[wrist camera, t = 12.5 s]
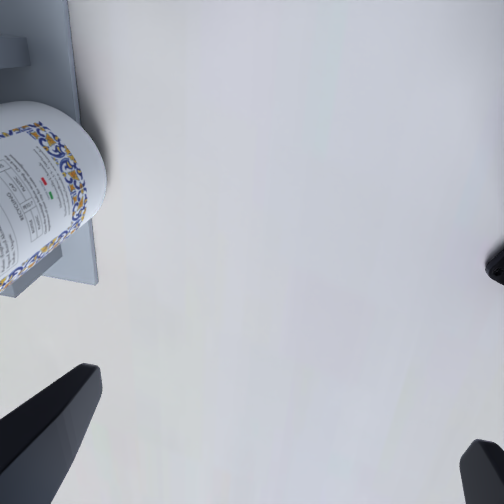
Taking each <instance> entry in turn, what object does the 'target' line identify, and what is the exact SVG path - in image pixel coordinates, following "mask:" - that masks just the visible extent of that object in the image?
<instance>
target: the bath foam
mask: <svg viewBox="0 0 504 504" xmlns="http://www.w3.org/2000/svg"><path fill="white" fill-rule="evenodd" d="M106 183H107V178H106V170H105V166H104V162H103V159H102V157H101V155H100V152H99V150H98V148H97V147H96V145H95V143H94V142H93V140H92V139H91V138H90V136H89V135H88V134H87V132H86V131H85V130H84V129H83V128H82V127H81V126H80V125H79V124H78V123H77V122H76V121H74V120H73V119H72V118H71V117H69V116H68V115H66V114H65V113H63V112H61V111H60V110H58V109H56V108H54V107H51V106H49V105H46V104H43V103H39V102H34V101H14V102H8V103H3V104H0V293H1V292H2V291H3V290H5V289H6V288H7V287H8V286H9V285H11V284H12V283H13V282H14V281H16V280H17V279H18V278H19V277H20V276H22V275H23V274H24V273H25V272H27V271H28V270H29V269H30V268H31V267H33V266H34V265H35V264H36V263H38V262H39V261H40V260H41V259H42V258H44V257H45V256H46V255H47V254H48V253H50V252H51V251H52V250H53V249H55V248H56V247H57V246H58V245H59V244H61V243H62V242H63V241H64V240H66V239H67V238H68V237H69V236H70V235H72V234H73V233H74V232H75V231H76V230H77V229H78V228H80V227H81V226H82V225H83V224H84V223H86V222H87V221H88V220H89V219H90V218H92V217H93V216H94V215H95V214H96V212H97V211H98V210H99V208H100V207H101V205H102V203H103V201H104V197H105V192H106Z"/></svg>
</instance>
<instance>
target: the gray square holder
mask: <svg viewBox="0 0 504 504" xmlns="http://www.w3.org/2000/svg"><path fill="white" fill-rule="evenodd" d="M14 101H34V102H39V103H43V104H46V105H49V106H51V107H54V108H56V109H58V110H60V111H61V112H63V113H65V114H66V115H68V116H69V117H71V118H72V119H73V120H74V121H76V122H77V123H78V124H79V125H80V126H81V121H80V112H79V103H78V94H77V85H76V76H75V67H74V58H73V49H72V40H71V30H70V21H69V12H68V3H67V0H0V104H3V103H8V102H14ZM41 275H42V276H47V277H52V278H58V279H63V280H68V281H74V282H79V283H84V284H90V285H96V284H97V283H98V274H97V265H96V256H95V247H94V238H93V229H92V220H91V218H90V219H89V220H88V221H87V222H86V223H84V224H83V225H82V226H81V227H80V228H78V229H77V230H76V231H75V232H74V233H73V234H72V235H70V236H69V237H68V238H67V239H66V240H64V241H63V242H62V243H61V244H59V245H58V246H57V247H56V248H55V249H53V250H52V251H51V252H50V253H48V254H47V255H46V256H45V257H44V258H42V259H41V260H40V261H39V262H38V263H36V264H35V265H34V266H33V267H31V268H30V269H29V270H28V271H27V272H25V273H24V274H23V275H22V276H20V277H19V278H18V279H17V280H16V281H14V282H13V283H12V284H11V285H9V286H8V287H7V288H6V289H5V290H3V291H2V292H1V293H0V295H3V296H9V297H14V298H16V297H17V296H18V295H19V294H20V293H21V292H23V291H24V290H25V289H26V288H27V287H28V286H29V285H31V284H32V283H33V282H34V281H35V280H36V279H37V278H39V277H40V276H41Z"/></svg>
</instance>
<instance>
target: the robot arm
mask: <svg viewBox="0 0 504 504" xmlns="http://www.w3.org/2000/svg"><path fill="white" fill-rule="evenodd" d="M497 268H500V269H499V270H498V271H497V272H494V270H495V269H497ZM485 271H486V273H487V274H488V276H489V277H490V278H491V279H493V280H495V281H497V282H498V283H500V284H502V285H504V250H503V251H502V252H501V253H499V254H498V255H497V256H496V257H495V258H494V259H493V260H492V261H491V262H490V263H489V264H488V265H487V266H486V269H485ZM101 394H102V380H101V372H100V368H99V367H98V366H97V365H92V364H87V363H82V364H80V365H78V366H77V367H75V368H74V369H72V370H71V371H69V372H68V373H66V374H65V375H64V376H62V377H61V378H59V379H58V380H56V381H55V382H53V383H52V384H51V385H49V386H48V387H46V388H45V389H43V390H42V391H40V392H39V393H38V394H36V395H35V396H33V397H32V398H30V399H29V400H28V401H26V402H25V403H23V404H22V405H20V406H19V407H17V408H16V409H15V410H13V411H12V412H10V413H9V414H7V415H6V416H4V417H3V418H2V419H0V504H51V502H52V500H53V498H54V496H55V495H56V493H57V491H58V489H59V487H60V485H61V484H62V482H63V480H64V478H65V476H66V474H67V472H68V471H69V469H70V467H71V465H72V463H73V461H74V459H75V456H76V454H77V452H78V450H79V447H80V445H81V443H82V440H83V438H84V435H85V433H86V431H87V428H88V426H89V424H90V421H91V419H92V416H93V414H94V412H95V409H96V407H97V405H98V402H99V400H100V397H101ZM460 473H461V479H462V484H463V490H464V496H465V501H466V504H504V451H503V450H502V448H501V447H500V446H499V445H497V444H496V443H494V442H491V441H486V440H481V439H476V440H474V441H473V442H472V443H471V445H470V446H469V447H468V449H467V450H466V451H465V453H464V454H463V455H462V457H461V459H460Z"/></svg>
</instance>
